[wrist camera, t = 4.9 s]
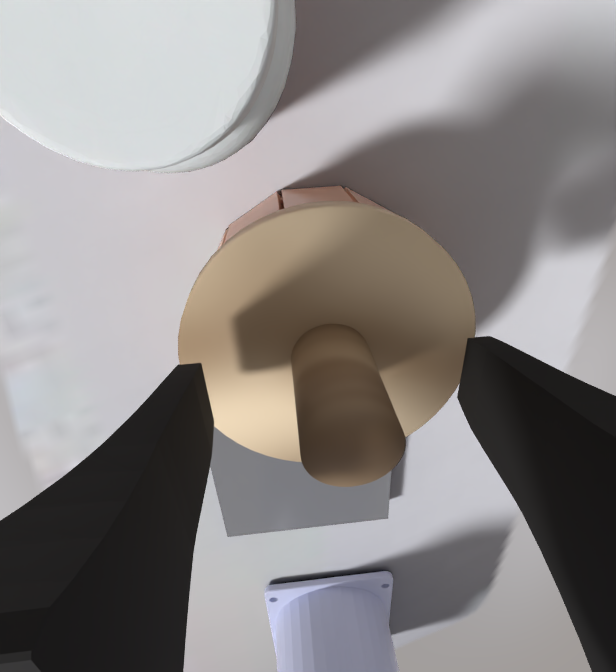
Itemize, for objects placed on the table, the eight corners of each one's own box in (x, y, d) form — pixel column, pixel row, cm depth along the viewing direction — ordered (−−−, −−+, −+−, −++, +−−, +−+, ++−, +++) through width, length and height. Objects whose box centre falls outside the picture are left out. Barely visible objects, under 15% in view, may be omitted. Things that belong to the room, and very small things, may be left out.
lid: (444, 434, 16) (505, 547, 12) (208, 457, 15) (189, 583, 11) (488, 190, 11) (609, 243, 7) (152, 211, 11) (86, 279, 7)
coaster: (383, 502, 23) (387, 518, 22) (229, 519, 22) (227, 536, 21) (391, 378, 18) (397, 392, 17) (200, 397, 18) (197, 412, 17)
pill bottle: (295, -38, 11) (356, -295, 4) (271, 154, 13) (280, 226, 6) (105, -88, 10) (-288, -540, 3) (115, 126, 12) (-92, 169, 5)
